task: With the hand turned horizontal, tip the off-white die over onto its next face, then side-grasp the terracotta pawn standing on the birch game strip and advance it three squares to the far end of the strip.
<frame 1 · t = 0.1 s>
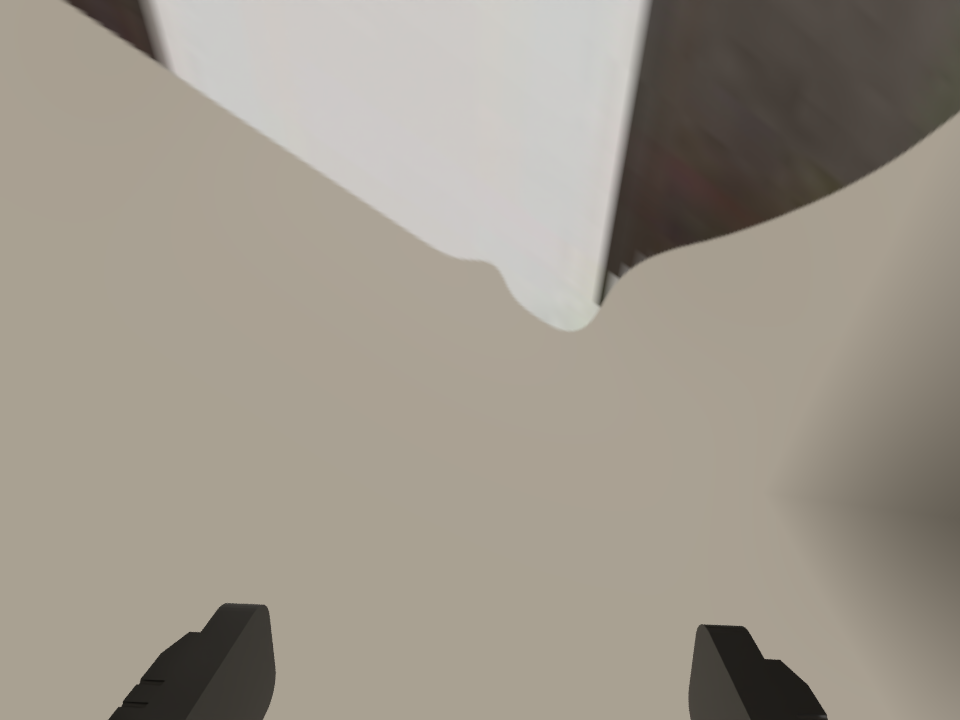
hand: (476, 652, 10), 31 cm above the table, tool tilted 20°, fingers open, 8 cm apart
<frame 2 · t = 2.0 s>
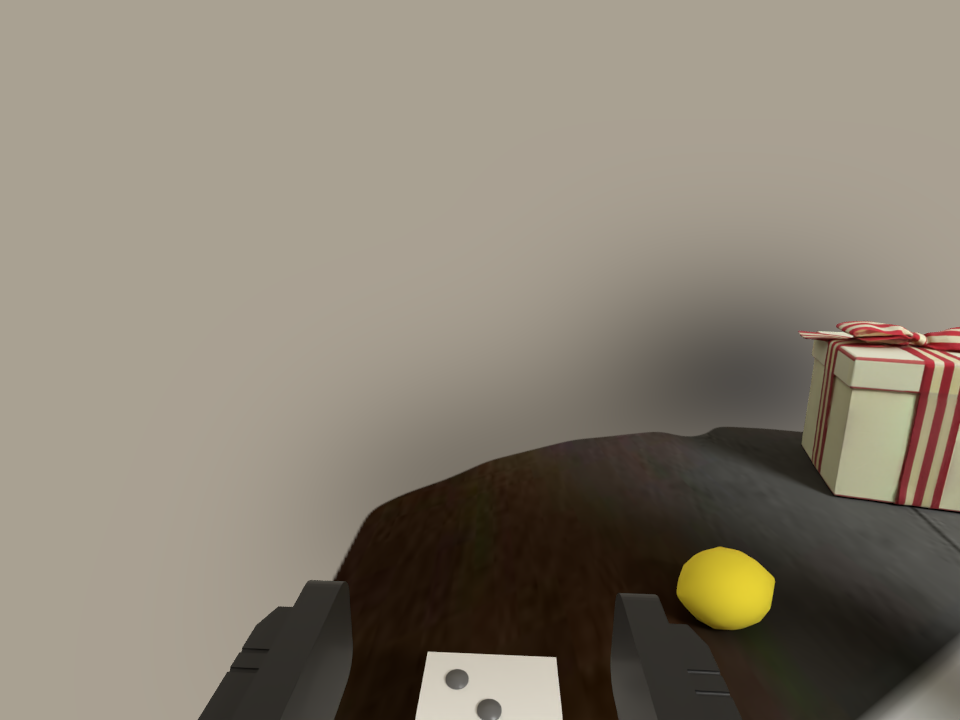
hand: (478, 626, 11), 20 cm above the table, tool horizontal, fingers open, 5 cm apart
lemon: (721, 621, 39), on the table
gift box: (874, 472, 62), on the table
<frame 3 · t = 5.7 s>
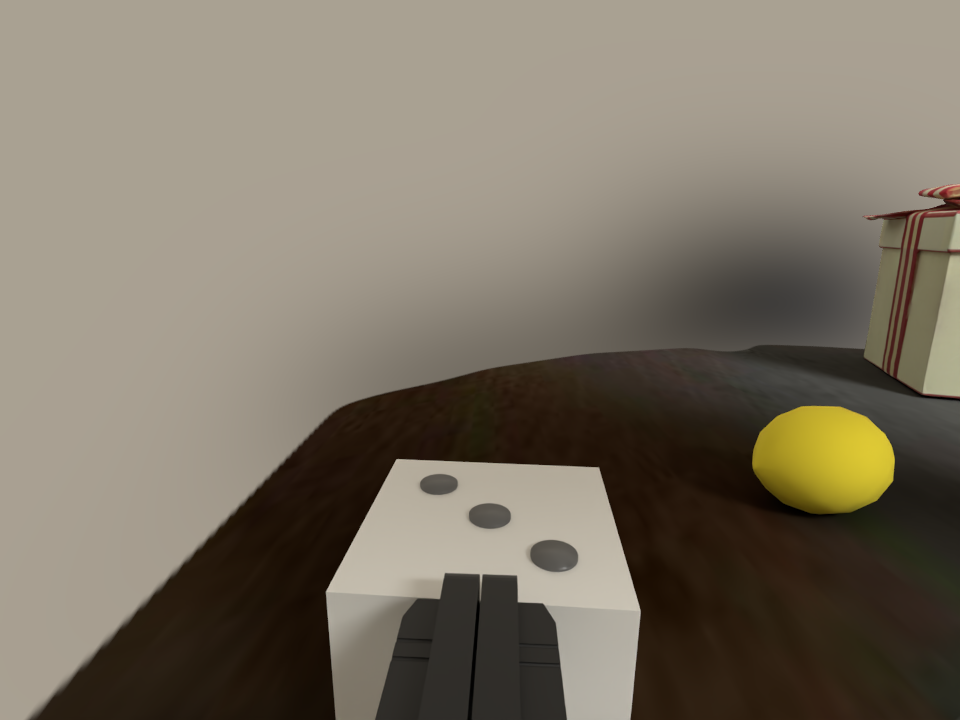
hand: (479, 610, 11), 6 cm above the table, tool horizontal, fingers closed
die: (487, 714, 16), on the table, touching gripper
lemon: (813, 509, 28), on the table
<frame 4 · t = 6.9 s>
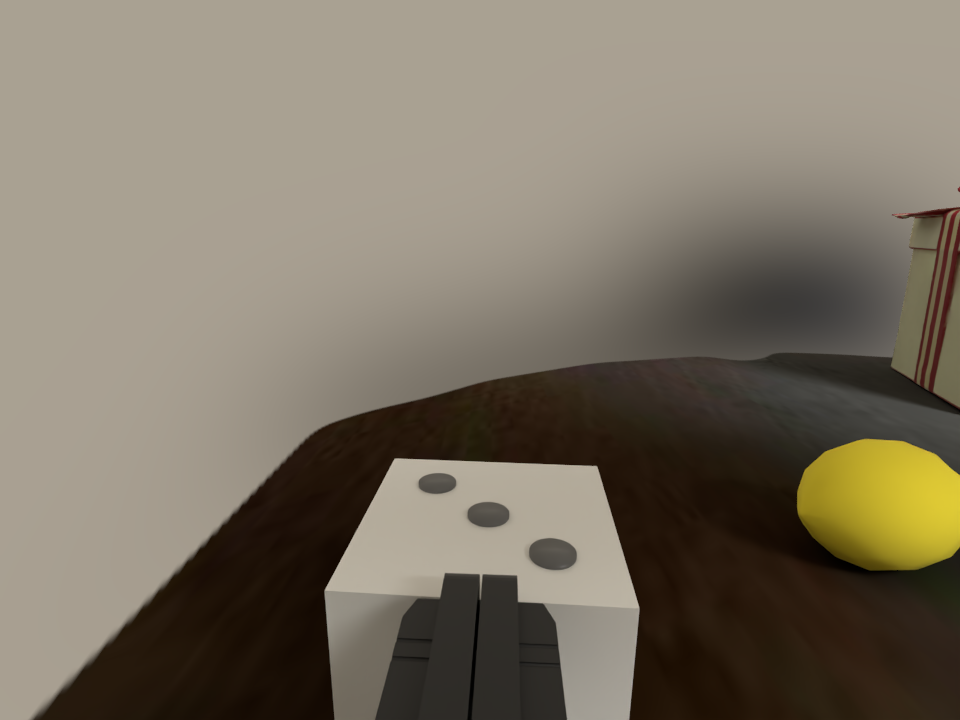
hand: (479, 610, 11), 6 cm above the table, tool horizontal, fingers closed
die: (486, 713, 16), on the table, touching gripper
lemon: (869, 561, 24), on the table
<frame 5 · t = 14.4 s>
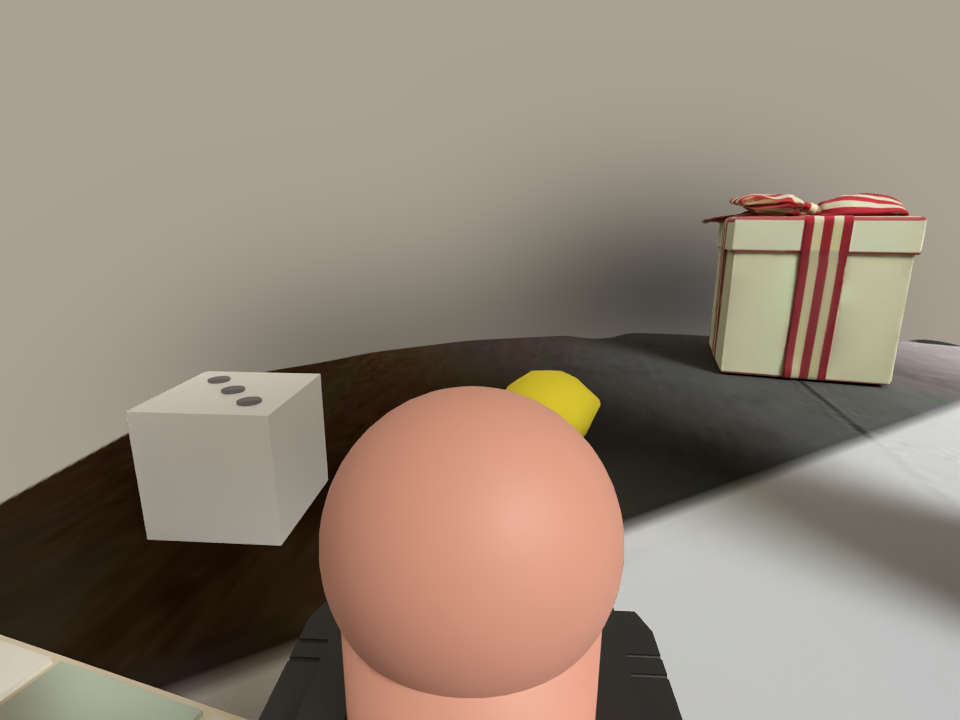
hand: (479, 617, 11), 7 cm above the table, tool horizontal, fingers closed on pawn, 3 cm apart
die: (247, 508, 29), on the table
lemon: (545, 450, 36), on the table
gift box: (774, 361, 59), on the table
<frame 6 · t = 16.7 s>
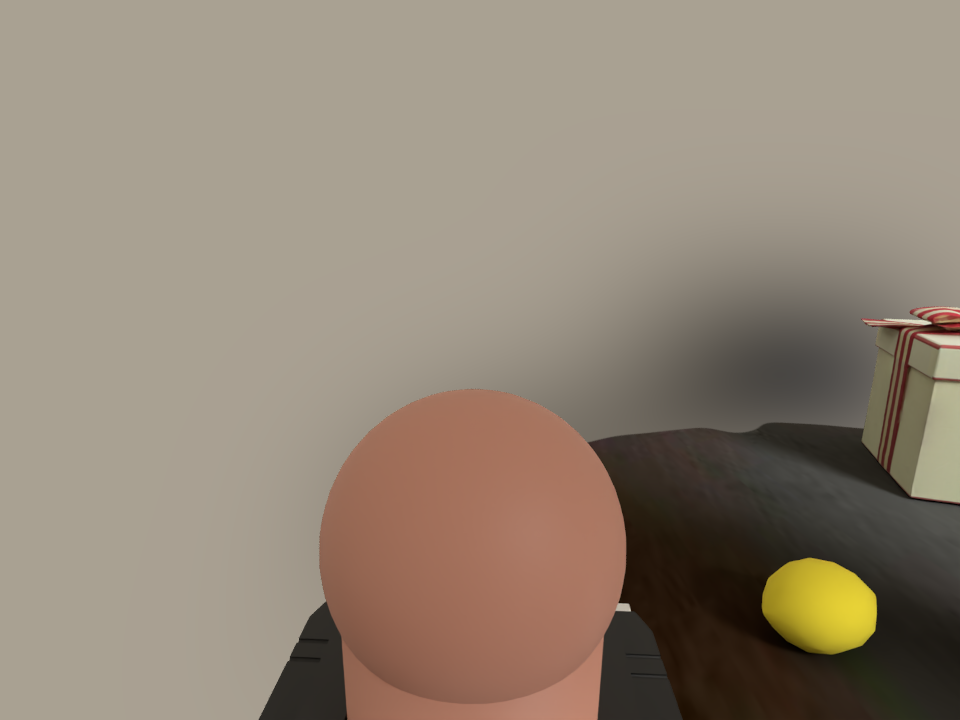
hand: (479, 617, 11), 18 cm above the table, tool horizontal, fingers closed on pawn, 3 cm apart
lemon: (811, 642, 34), on the table
gift box: (947, 472, 57), on the table
when the fingers open (8 cm above the table, at t = 19.0 s): pawn drops 1 cm, resting on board.
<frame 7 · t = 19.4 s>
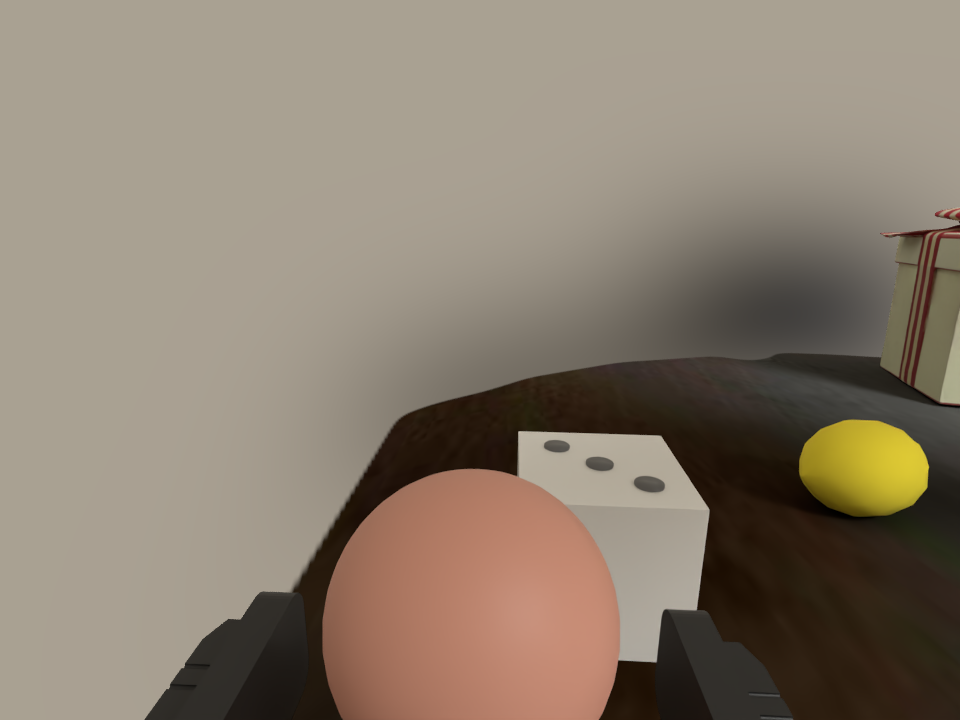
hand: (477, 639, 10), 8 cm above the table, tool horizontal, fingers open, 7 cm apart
die: (590, 601, 24), on the table
lemon: (853, 512, 31), on the table
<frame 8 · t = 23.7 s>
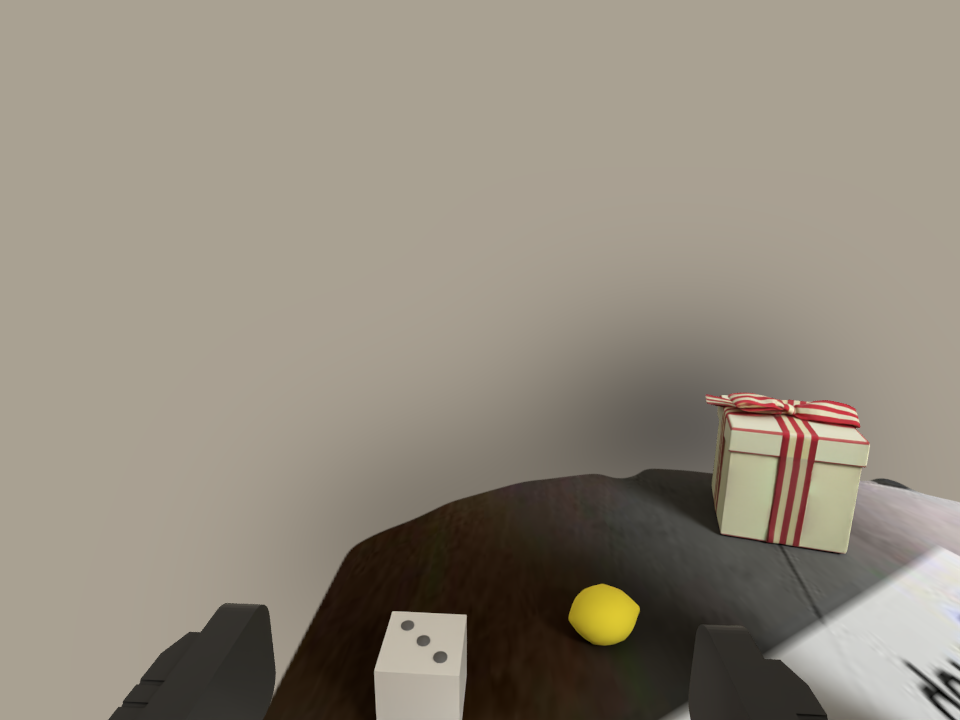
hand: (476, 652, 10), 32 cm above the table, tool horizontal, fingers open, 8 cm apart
die: (424, 705, 46), on the table
lemon: (602, 638, 53), on the table
gift box: (762, 513, 76), on the table
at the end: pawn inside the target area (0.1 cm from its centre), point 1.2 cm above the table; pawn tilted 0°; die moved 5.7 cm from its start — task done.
